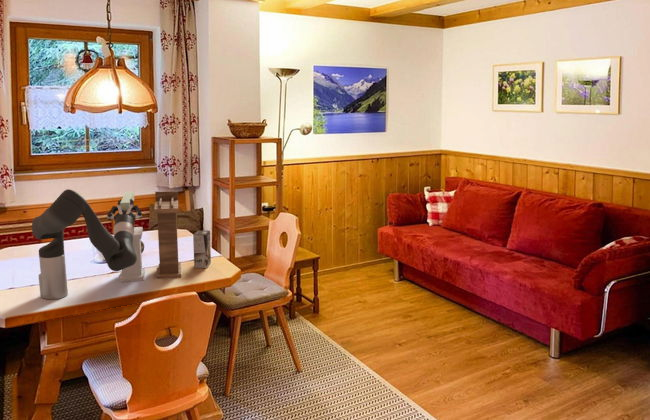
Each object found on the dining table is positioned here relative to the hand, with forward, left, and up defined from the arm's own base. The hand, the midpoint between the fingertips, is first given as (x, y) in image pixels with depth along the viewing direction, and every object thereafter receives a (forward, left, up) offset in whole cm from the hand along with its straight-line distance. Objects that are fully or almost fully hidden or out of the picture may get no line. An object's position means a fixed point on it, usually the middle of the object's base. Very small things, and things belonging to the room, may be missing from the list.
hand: (125, 200), depth 240 cm
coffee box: (+22, +31, -37) cm, 53 cm away
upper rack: (+10, +18, -37) cm, 42 cm away
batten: (-3, +7, -3) cm, 8 cm away
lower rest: (-4, +10, -37) cm, 38 cm away
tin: (-19, +41, -37) cm, 59 cm away
